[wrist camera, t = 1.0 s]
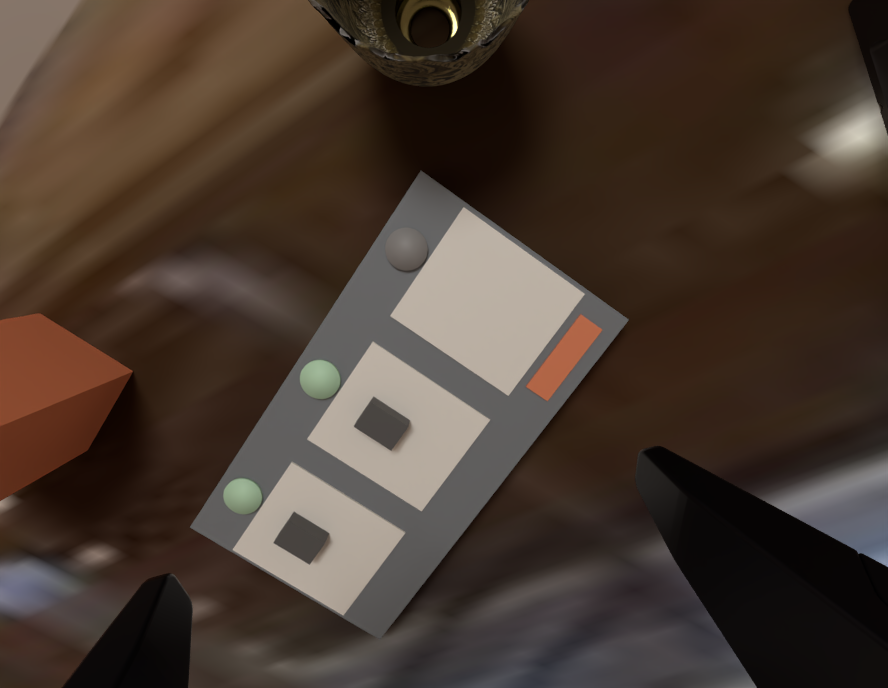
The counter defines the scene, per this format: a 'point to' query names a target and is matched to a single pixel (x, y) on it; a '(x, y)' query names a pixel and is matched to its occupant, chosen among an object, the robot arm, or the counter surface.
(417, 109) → the counter surface
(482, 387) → the breaker panel
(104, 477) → the counter surface
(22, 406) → the block
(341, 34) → the cup
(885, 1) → the phone stand
